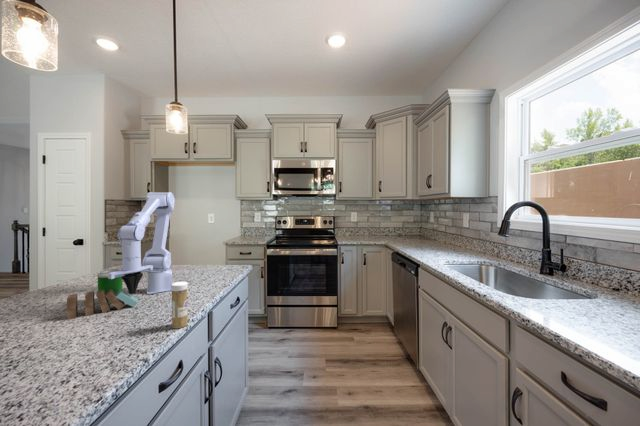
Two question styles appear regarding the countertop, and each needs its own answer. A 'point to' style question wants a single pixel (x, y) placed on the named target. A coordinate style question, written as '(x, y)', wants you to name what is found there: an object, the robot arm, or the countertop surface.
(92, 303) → the domino
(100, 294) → the domino
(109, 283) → the soda can
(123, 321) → the countertop surface
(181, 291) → the sprinkles bottle
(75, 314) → the domino
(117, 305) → the domino
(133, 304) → the loose domino
